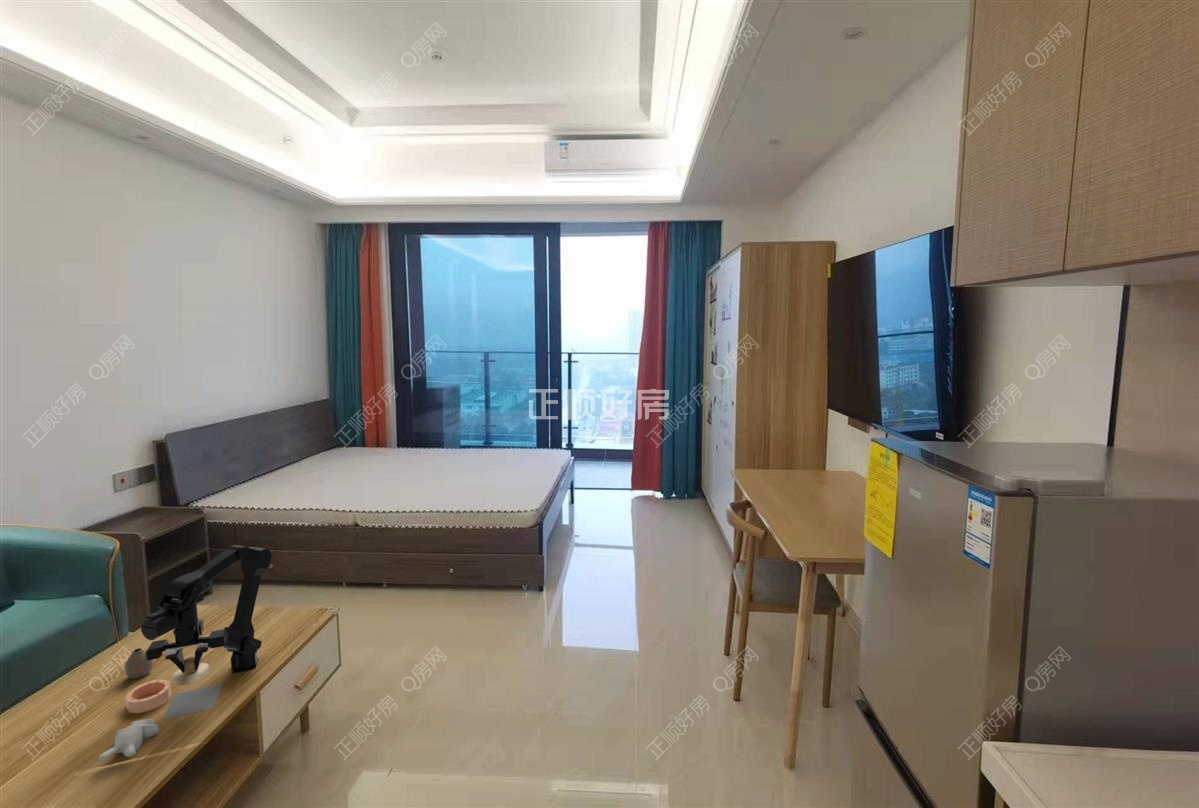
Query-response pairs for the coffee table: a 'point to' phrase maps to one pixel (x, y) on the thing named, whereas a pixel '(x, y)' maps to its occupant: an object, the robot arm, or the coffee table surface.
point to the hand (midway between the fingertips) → (190, 670)
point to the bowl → (148, 696)
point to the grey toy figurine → (131, 738)
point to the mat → (193, 701)
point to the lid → (190, 672)
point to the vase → (138, 664)
